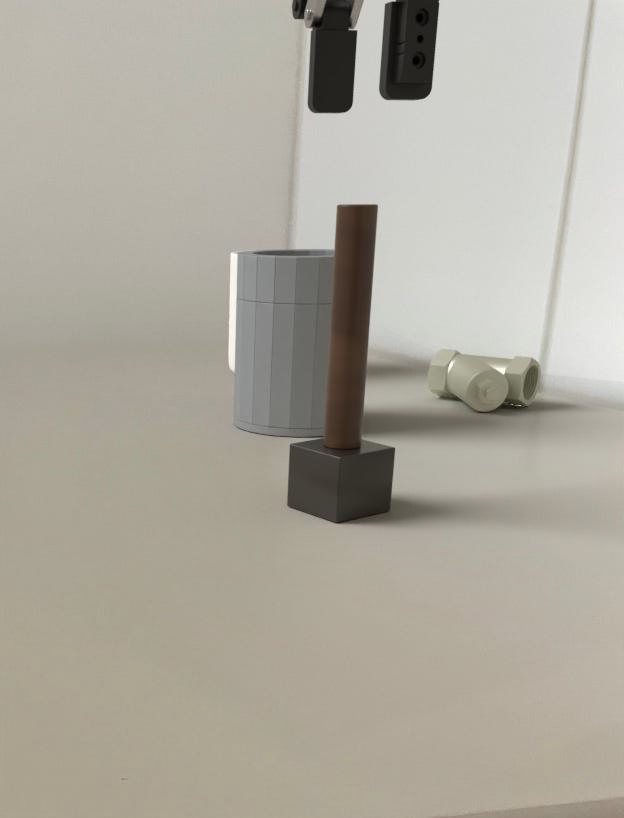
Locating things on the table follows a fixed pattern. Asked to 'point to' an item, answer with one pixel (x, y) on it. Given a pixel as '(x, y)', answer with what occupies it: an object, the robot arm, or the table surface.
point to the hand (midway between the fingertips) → (364, 106)
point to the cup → (282, 341)
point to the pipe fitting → (484, 379)
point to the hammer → (345, 392)
